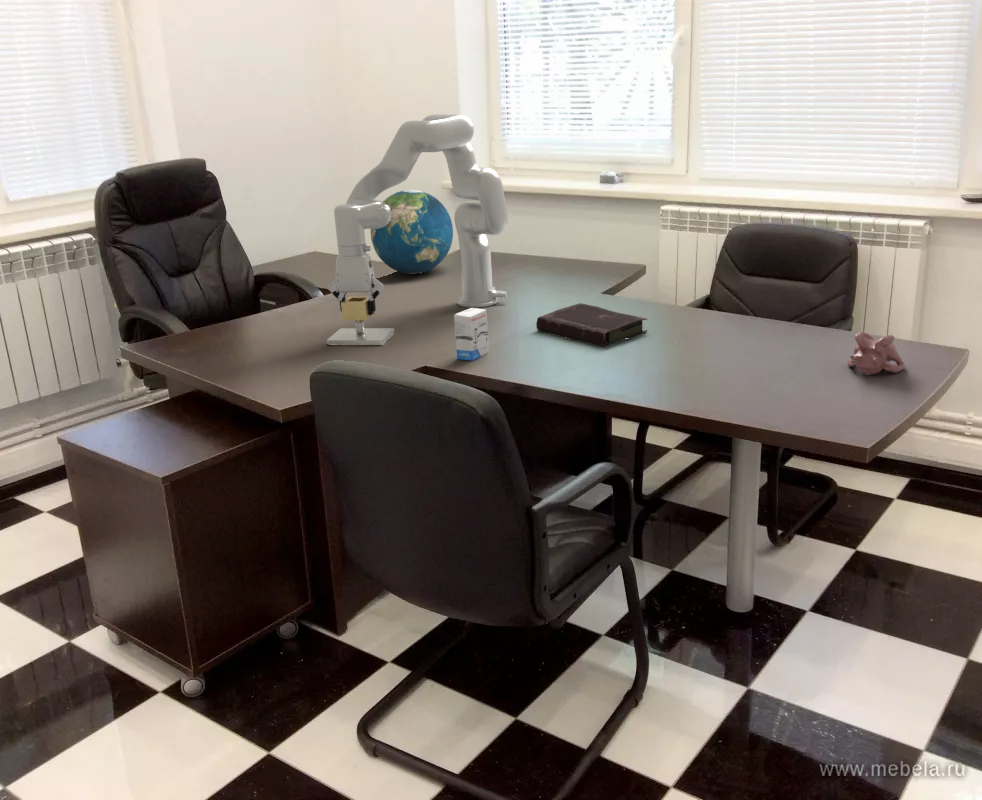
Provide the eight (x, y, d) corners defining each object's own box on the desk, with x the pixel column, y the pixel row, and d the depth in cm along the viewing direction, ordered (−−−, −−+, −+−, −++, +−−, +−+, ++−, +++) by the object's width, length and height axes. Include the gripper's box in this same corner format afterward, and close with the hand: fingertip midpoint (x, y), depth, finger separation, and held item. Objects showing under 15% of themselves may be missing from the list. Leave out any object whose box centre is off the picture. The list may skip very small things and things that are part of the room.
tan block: (374, 313, 263) (372, 296, 261) (367, 320, 256) (365, 302, 255) (350, 313, 264) (348, 296, 262) (342, 320, 258) (340, 302, 256)
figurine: (848, 378, 223) (833, 365, 210) (857, 337, 223) (843, 322, 211) (902, 386, 216) (890, 373, 204) (911, 343, 216) (899, 328, 204)
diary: (603, 350, 243) (602, 332, 242) (536, 333, 261) (535, 316, 259) (649, 333, 255) (649, 315, 253) (582, 318, 272) (581, 302, 271)
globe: (465, 264, 351) (460, 183, 341) (440, 282, 325) (434, 195, 314) (392, 264, 359) (385, 185, 349) (361, 282, 333) (353, 196, 322)
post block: (394, 333, 267) (392, 307, 264) (382, 345, 256) (380, 319, 253) (341, 333, 270) (338, 308, 267) (327, 345, 258) (324, 319, 256)
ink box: (472, 361, 238) (469, 316, 234) (455, 359, 240) (452, 315, 236) (489, 352, 245) (487, 308, 241) (474, 350, 247) (471, 306, 243)
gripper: (386, 247, 256) (392, 310, 262) (326, 248, 259) (333, 310, 265) (378, 252, 249) (384, 317, 255) (317, 253, 252) (324, 317, 258)
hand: (358, 313), depth 260 cm, fingers closed on tan block, 7 cm apart
